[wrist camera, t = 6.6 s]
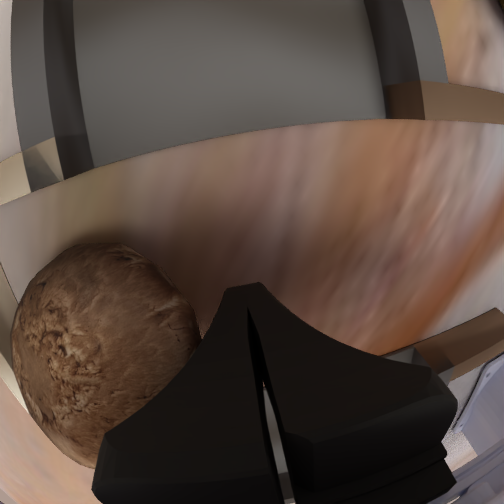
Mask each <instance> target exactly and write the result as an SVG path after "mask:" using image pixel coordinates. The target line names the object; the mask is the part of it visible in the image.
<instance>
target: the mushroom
mask: <svg viewBox="0 0 504 504" xmlns="http://www.w3.org/2000/svg"><path fill="white" fill-rule="evenodd" d="M201 341H202V339H201V336H200V332H199V328H198V324H197V321H196V317H195V313H194V310H193V309H192V307H191V306H190V305H189V304H188V302H187V301H186V300H185V298H184V297H183V296H182V295H181V293H180V292H179V291H178V289H177V288H176V287H175V285H174V284H173V283H172V281H171V280H170V279H169V277H168V276H167V275H166V273H165V272H164V271H163V269H162V268H161V267H159V266H158V265H156V264H154V263H153V262H151V261H150V260H148V259H146V258H145V257H143V256H142V255H140V254H139V253H137V252H135V251H134V250H132V249H131V248H129V247H128V246H125V245H123V244H121V243H91V244H79V245H76V246H73V247H71V248H69V249H67V250H65V251H64V252H63V253H62V254H60V255H59V256H58V257H56V258H55V259H54V260H53V261H51V262H50V263H49V264H48V265H47V266H45V267H44V268H43V269H42V270H41V271H39V272H38V273H37V274H36V276H35V277H34V278H33V279H32V280H31V281H30V282H29V284H28V286H27V288H26V290H25V292H24V294H23V296H22V299H21V301H20V303H19V305H18V307H17V309H16V312H15V316H14V320H13V324H12V328H11V332H10V344H11V358H12V369H13V372H14V375H15V378H16V381H17V384H18V386H19V389H20V392H21V394H22V397H23V399H24V402H25V404H26V407H27V409H28V412H29V414H30V415H31V417H32V418H33V419H34V421H35V422H36V423H37V424H38V426H39V427H40V428H41V430H42V431H43V432H44V433H45V435H46V436H47V437H48V438H49V439H50V440H51V441H52V442H53V444H54V445H55V446H56V447H57V448H58V449H59V450H60V451H61V452H62V453H63V454H65V455H66V456H68V457H69V458H71V459H72V460H74V461H75V462H77V463H78V464H80V465H83V466H85V467H88V468H91V469H95V467H96V462H97V457H98V453H99V449H100V446H101V443H102V440H103V436H104V433H106V432H108V431H109V430H111V429H112V428H114V427H115V426H117V425H118V424H120V423H121V422H123V421H124V420H125V419H127V418H128V417H130V416H131V415H133V414H134V413H135V412H137V411H138V410H139V409H141V408H142V407H143V406H144V405H145V404H147V403H148V402H149V401H150V400H151V399H153V398H154V397H155V396H156V395H157V394H158V393H159V392H160V391H161V390H162V389H163V388H164V387H165V386H167V384H168V383H169V382H170V381H171V380H172V379H173V378H174V377H175V376H176V375H177V374H178V373H179V371H180V370H181V369H182V368H183V367H184V365H185V364H186V363H187V362H188V360H189V359H190V358H191V356H192V355H193V353H194V352H195V350H196V349H197V347H198V346H199V344H200V343H201Z"/></svg>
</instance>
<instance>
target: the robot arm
mask: <svg viewBox="0 0 504 504" xmlns="http://www.w3.org/2000/svg"><path fill="white" fill-rule="evenodd" d="M263 382H264V385H265V388H266V391H267V394H268V397H269V400H270V403H271V406H272V409H273V412H274V415H275V419H276V422H277V427H278V431H279V435H280V440H281V444H282V448H283V453H284V457H285V461H286V466H287V470H288V474H289V479H290V483H291V487H292V491H293V496H294V500H295V504H447V503H448V502H450V501H452V500H454V499H456V498H457V497H459V496H460V495H461V496H460V497H459V499H457V500H456V501H454V502H453V503H451V504H504V354H503V355H502V356H500V357H499V358H497V359H495V360H494V361H492V362H491V363H489V364H488V365H487V366H486V367H485V368H484V370H483V372H482V375H481V377H480V379H479V381H478V383H477V385H476V388H475V390H474V392H473V394H472V396H471V398H470V400H469V402H468V404H467V406H466V408H465V410H464V411H463V413H462V415H461V417H460V419H459V421H458V422H457V424H456V426H455V428H454V429H453V433H454V434H457V433H458V432H460V431H462V432H463V434H464V435H465V437H466V438H467V440H468V441H469V443H470V444H471V446H472V447H473V449H474V450H475V452H476V454H477V455H478V456H477V457H476V458H474V459H473V460H471V461H470V462H468V463H466V464H465V465H463V466H462V467H460V468H458V469H457V470H455V471H453V472H451V470H450V469H449V467H448V465H447V463H446V462H445V460H444V458H446V456H447V451H446V449H445V447H444V446H443V444H442V443H441V441H442V439H443V438H444V436H445V434H446V433H447V431H448V429H449V427H450V425H451V424H452V422H453V420H454V417H455V415H456V412H457V408H458V402H457V399H456V398H455V396H454V395H453V394H452V392H451V391H450V390H449V388H448V387H447V385H446V384H445V383H444V382H443V380H442V379H441V378H440V377H439V376H438V375H437V374H436V373H435V372H434V371H433V370H432V368H431V367H427V366H421V365H416V364H410V363H405V362H400V361H395V360H390V359H387V358H383V357H380V356H376V355H373V354H370V353H367V352H364V351H361V350H358V349H356V348H353V347H351V346H348V345H346V344H344V343H341V342H339V341H337V340H335V339H333V338H330V337H328V336H327V335H325V334H323V333H321V332H319V331H318V330H316V329H315V328H313V327H311V326H310V325H308V324H307V323H306V322H304V321H303V320H301V319H300V318H299V317H297V316H296V315H295V314H293V313H292V312H291V311H290V310H288V309H287V308H286V307H285V306H284V305H283V304H281V303H280V302H279V301H278V300H277V299H276V298H275V297H274V296H273V295H272V294H271V293H270V292H269V291H268V290H267V289H266V287H265V286H264V285H263V284H262V283H260V282H257V283H252V284H247V285H242V286H237V287H232V288H227V289H226V291H225V292H224V295H223V298H222V301H221V304H220V306H219V308H218V311H217V313H216V315H215V317H214V319H213V321H212V323H211V325H210V327H209V329H208V331H207V333H206V334H205V336H204V338H203V339H202V341H201V343H200V344H199V346H198V347H197V349H196V350H195V352H194V353H193V355H192V356H191V358H190V359H189V360H188V362H187V363H186V364H185V365H184V367H183V368H182V369H181V370H180V371H179V373H178V374H177V375H176V376H175V377H174V378H173V379H172V380H171V381H170V382H169V383H168V384H167V386H165V387H164V388H163V389H162V390H161V391H160V392H159V393H158V394H157V395H156V396H155V397H154V398H153V399H151V400H150V401H149V402H148V403H147V404H145V405H144V406H143V407H142V408H141V409H139V410H138V411H137V412H135V413H134V414H133V415H131V416H130V417H128V418H127V419H125V420H124V421H123V422H121V423H120V424H118V425H117V426H115V427H114V428H112V429H111V430H109V431H108V432H106V433H104V436H103V440H102V443H101V446H100V449H99V453H98V457H97V462H96V467H95V472H94V478H93V483H92V489H91V490H92V491H93V493H94V495H95V497H96V498H97V499H98V500H99V501H100V502H101V503H103V504H285V501H284V497H283V492H282V488H281V483H280V479H279V474H278V470H277V465H276V461H275V456H274V452H273V447H272V442H271V438H270V433H269V428H268V423H267V416H266V408H265V398H264V388H263ZM0 504H3V503H2V502H1V501H0Z"/></svg>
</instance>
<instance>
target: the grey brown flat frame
mask: <svg viewBox="0 0 504 504" xmlns="http://www.w3.org/2000/svg"><path fill="white" fill-rule="evenodd" d="M11 72H12V87H13V98H14V107H15V115H16V122H17V129H18V135H19V141H20V146H21V151H22V152H20V153H18V154H16V155H14V156H12V157H10V158H8V159H6V160H4V161H2V162H0V205H3V204H5V203H7V202H10V201H12V200H14V199H17V198H19V197H21V196H24V195H26V194H29V193H31V192H34V191H36V190H39V189H42V188H44V187H47V186H49V185H52V184H55V183H58V182H60V181H63V180H66V179H68V178H71V177H73V176H76V175H78V174H81V173H83V172H86V171H89V170H91V169H94V168H97V167H100V166H103V165H107V164H110V163H113V162H117V161H120V160H123V159H127V158H131V157H134V156H138V155H142V154H145V153H149V152H153V151H157V150H161V149H165V148H169V147H174V146H178V145H182V144H187V143H191V142H196V141H201V140H206V139H211V138H216V137H221V136H227V135H232V134H238V133H244V132H250V131H257V130H263V129H270V128H278V127H285V126H294V125H302V124H312V123H322V122H334V121H348V120H365V119H417V120H449V121H468V122H482V123H494V124H503V125H504V94H503V93H499V92H494V91H489V90H484V89H479V88H474V87H468V86H462V85H455V84H448V77H447V71H446V65H445V60H444V55H443V50H442V45H441V41H440V36H439V32H438V28H437V24H436V20H435V17H434V13H433V9H432V6H431V3H430V0H13V2H12V16H11ZM17 307H18V303H17V301H16V299H15V297H14V295H13V293H12V290H11V288H10V286H9V284H8V281H7V279H6V277H5V274H4V272H3V269H2V267H1V264H0V376H1V378H2V379H3V381H4V382H5V383H6V385H7V386H8V388H9V389H10V390H11V392H12V393H13V394H14V396H15V397H16V398H17V399H18V401H19V402H20V403H21V404H22V406H23V407H24V408H25V409H26V411H27V412H28V409H27V407H26V404H25V402H24V399H23V397H22V394H21V392H20V389H19V386H18V384H17V381H16V378H15V375H14V372H13V369H12V358H11V344H10V332H11V328H12V324H13V320H14V316H15V312H16V309H17ZM503 351H504V314H503V313H502V312H501V311H500V310H498V309H497V308H495V309H493V310H491V311H489V312H487V313H485V314H483V315H481V316H478V317H476V318H474V319H472V320H470V321H468V322H466V323H464V324H461V325H459V326H457V327H455V328H452V329H450V330H448V331H446V332H443V333H441V334H438V335H436V336H434V337H431V338H429V339H426V340H424V341H421V342H419V343H416V344H413V345H411V346H408V347H405V348H403V349H400V350H397V351H394V352H392V353H389V354H386V355H383V356H380V357H383V358H387V359H390V360H395V361H400V362H405V363H410V364H416V365H421V366H427V367H431V368H432V370H433V371H434V372H435V373H436V374H437V375H438V376H439V377H440V378H441V379H442V380H443V382H444V383H445V384H446V385H447V386H448V383H449V382H450V381H452V380H454V379H456V378H458V377H460V376H462V375H464V374H465V373H467V372H469V371H471V370H473V369H474V368H476V367H478V366H480V365H481V364H483V363H485V362H487V361H488V360H490V359H492V358H493V357H495V356H496V355H498V354H500V353H501V352H503ZM264 398H265V408H266V416H267V423H268V428H269V433H270V438H271V442H272V447H273V452H274V456H275V461H276V465H277V470H278V474H279V479H280V483H281V488H282V492H283V497H284V501H285V504H290V503H295V500H294V496H293V491H292V487H291V483H290V479H289V474H288V470H287V466H286V461H285V457H284V453H283V448H282V444H281V440H280V435H279V431H278V427H277V422H276V419H275V415H274V412H273V409H272V406H271V403H270V400H269V397H268V394H267V391H266V388H264ZM28 413H29V412H28Z"/></svg>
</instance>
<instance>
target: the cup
mask: <svg viewBox="0 0 504 504" xmlns="http://www.w3.org/2000/svg"><path fill="white" fill-rule="evenodd" d="M499 2H500V4H501V6H502V8H503V10H504V0H499Z"/></svg>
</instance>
